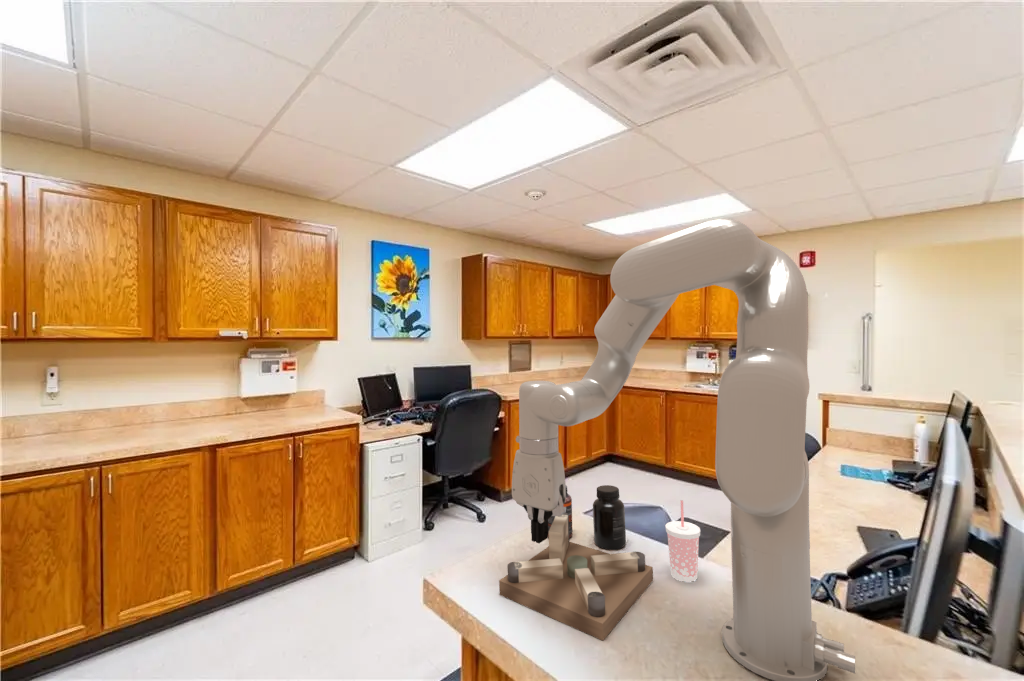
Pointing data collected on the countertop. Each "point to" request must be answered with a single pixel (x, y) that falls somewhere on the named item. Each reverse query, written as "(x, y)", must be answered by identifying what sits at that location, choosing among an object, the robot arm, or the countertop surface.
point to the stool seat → (579, 586)
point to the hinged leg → (559, 537)
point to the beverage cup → (683, 548)
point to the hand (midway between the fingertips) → (539, 539)
